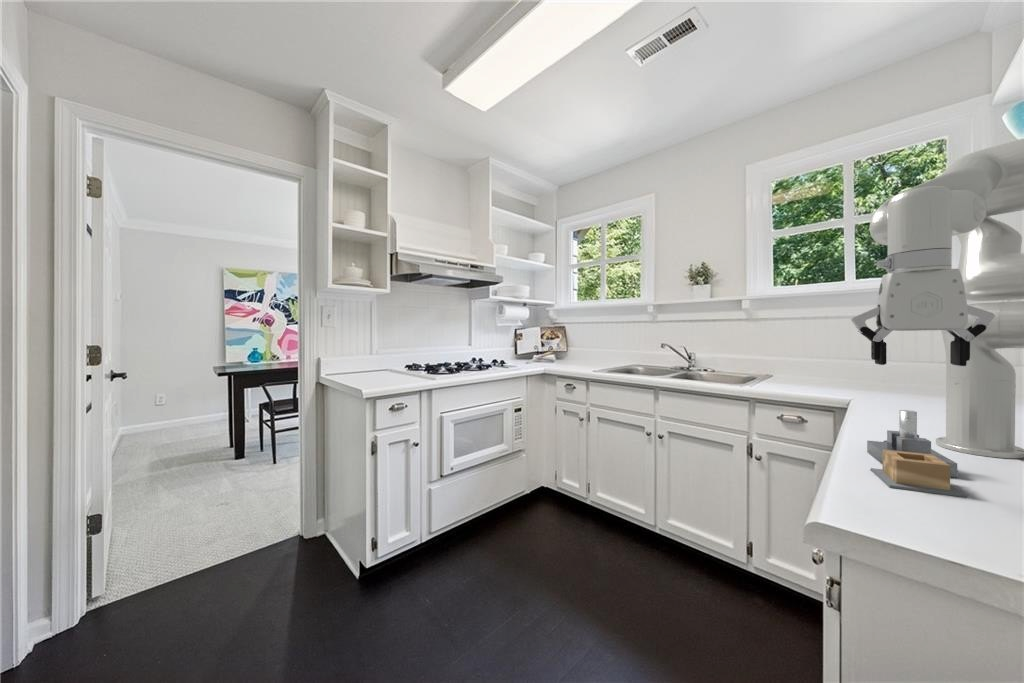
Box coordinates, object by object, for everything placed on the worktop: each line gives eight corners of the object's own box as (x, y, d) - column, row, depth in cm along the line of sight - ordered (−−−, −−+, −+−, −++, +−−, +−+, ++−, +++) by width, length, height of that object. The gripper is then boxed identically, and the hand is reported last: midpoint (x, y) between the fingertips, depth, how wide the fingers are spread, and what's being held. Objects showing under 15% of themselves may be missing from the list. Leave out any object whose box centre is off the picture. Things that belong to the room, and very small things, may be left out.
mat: (870, 470, 73) (870, 468, 73) (937, 477, 68) (937, 475, 68) (889, 487, 65) (889, 485, 65) (966, 497, 61) (966, 494, 61)
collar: (882, 471, 71) (882, 449, 71) (931, 476, 68) (931, 454, 68) (896, 483, 65) (896, 459, 65) (950, 490, 62) (950, 465, 62)
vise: (859, 445, 88) (859, 400, 87) (914, 450, 83) (914, 403, 83) (889, 470, 73) (889, 415, 72) (957, 477, 68) (957, 419, 68)
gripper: (858, 266, 67) (858, 365, 67) (1008, 254, 58) (1007, 368, 59) (846, 271, 73) (846, 362, 74) (979, 262, 65) (978, 363, 65)
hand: (918, 364), depth 66 cm, fingers open, 9 cm apart
